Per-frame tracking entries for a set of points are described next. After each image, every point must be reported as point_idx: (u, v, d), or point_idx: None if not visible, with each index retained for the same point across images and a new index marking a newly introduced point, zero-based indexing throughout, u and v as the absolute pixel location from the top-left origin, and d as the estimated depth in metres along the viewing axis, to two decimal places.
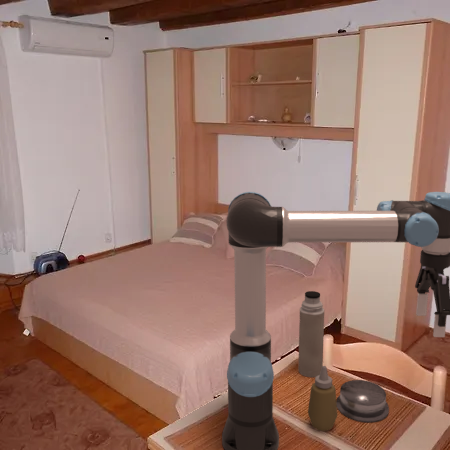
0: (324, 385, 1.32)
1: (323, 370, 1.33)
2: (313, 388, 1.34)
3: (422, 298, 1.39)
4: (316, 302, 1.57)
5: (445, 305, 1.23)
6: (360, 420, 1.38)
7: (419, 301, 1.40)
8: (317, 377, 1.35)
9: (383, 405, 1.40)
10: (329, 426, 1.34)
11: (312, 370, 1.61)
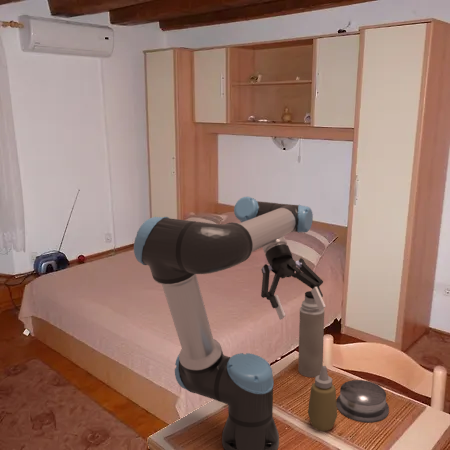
0: (324, 385, 1.32)
1: (323, 370, 1.33)
2: (313, 388, 1.34)
3: None
4: None
5: None
6: (360, 420, 1.38)
7: None
8: (317, 377, 1.35)
9: (383, 405, 1.40)
10: (329, 426, 1.34)
11: (312, 370, 1.61)
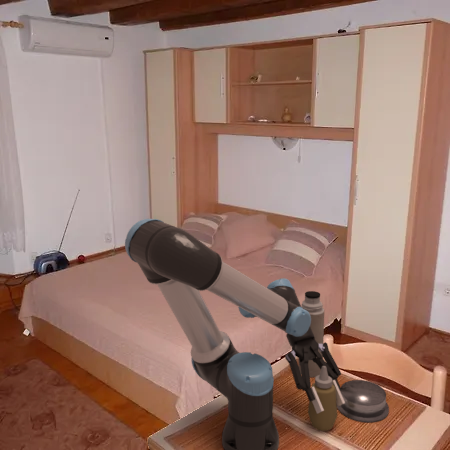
0: (324, 385, 1.32)
1: (323, 370, 1.33)
2: None
3: None
4: (316, 302, 1.57)
5: None
6: (360, 420, 1.38)
7: None
8: (317, 377, 1.35)
9: (383, 405, 1.40)
10: (329, 426, 1.34)
11: (312, 370, 1.61)
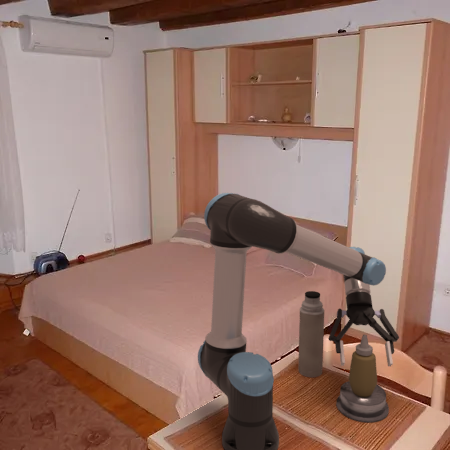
0: (361, 352, 1.39)
1: (363, 338, 1.40)
2: (353, 353, 1.42)
3: None
4: (316, 302, 1.57)
5: None
6: (360, 420, 1.38)
7: None
8: (359, 344, 1.42)
9: (383, 405, 1.40)
10: (364, 392, 1.41)
11: (312, 370, 1.61)
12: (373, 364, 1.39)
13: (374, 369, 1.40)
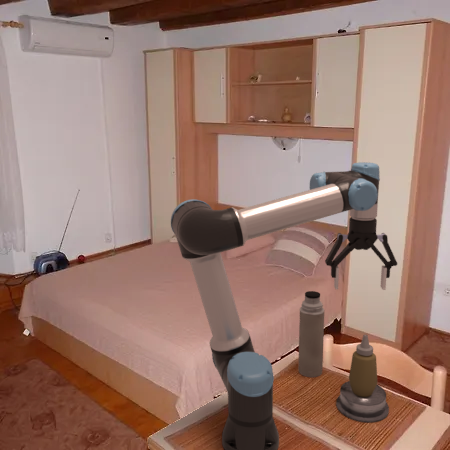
0: (361, 352, 1.39)
1: (363, 338, 1.40)
2: (353, 353, 1.42)
3: None
4: (316, 302, 1.57)
5: (393, 256, 1.41)
6: (360, 420, 1.38)
7: None
8: (360, 344, 1.42)
9: (383, 405, 1.40)
10: (364, 392, 1.41)
11: (312, 370, 1.61)
12: (373, 364, 1.39)
13: (374, 369, 1.40)
